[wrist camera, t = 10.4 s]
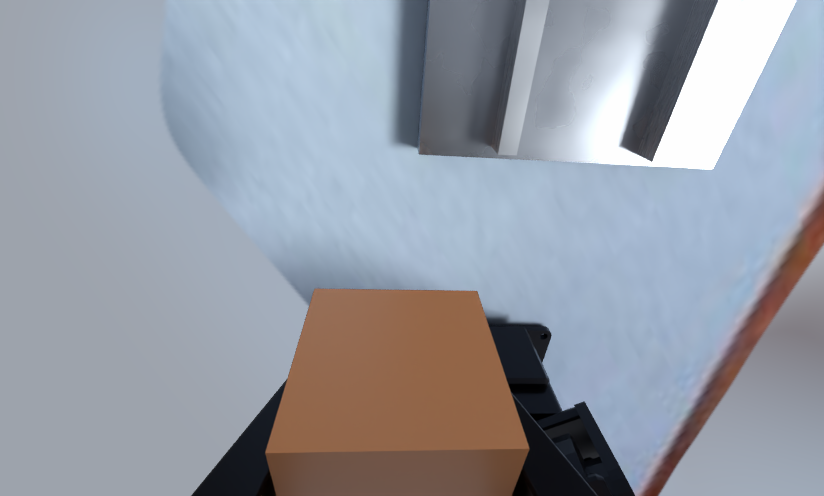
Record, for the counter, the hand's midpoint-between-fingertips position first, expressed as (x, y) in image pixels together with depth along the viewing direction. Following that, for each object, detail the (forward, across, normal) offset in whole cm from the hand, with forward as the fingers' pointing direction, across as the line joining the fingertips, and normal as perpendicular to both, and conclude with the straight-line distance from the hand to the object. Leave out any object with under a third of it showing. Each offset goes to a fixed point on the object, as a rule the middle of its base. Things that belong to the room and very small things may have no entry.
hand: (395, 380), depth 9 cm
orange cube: (+1, 0, 0) cm, 1 cm away
